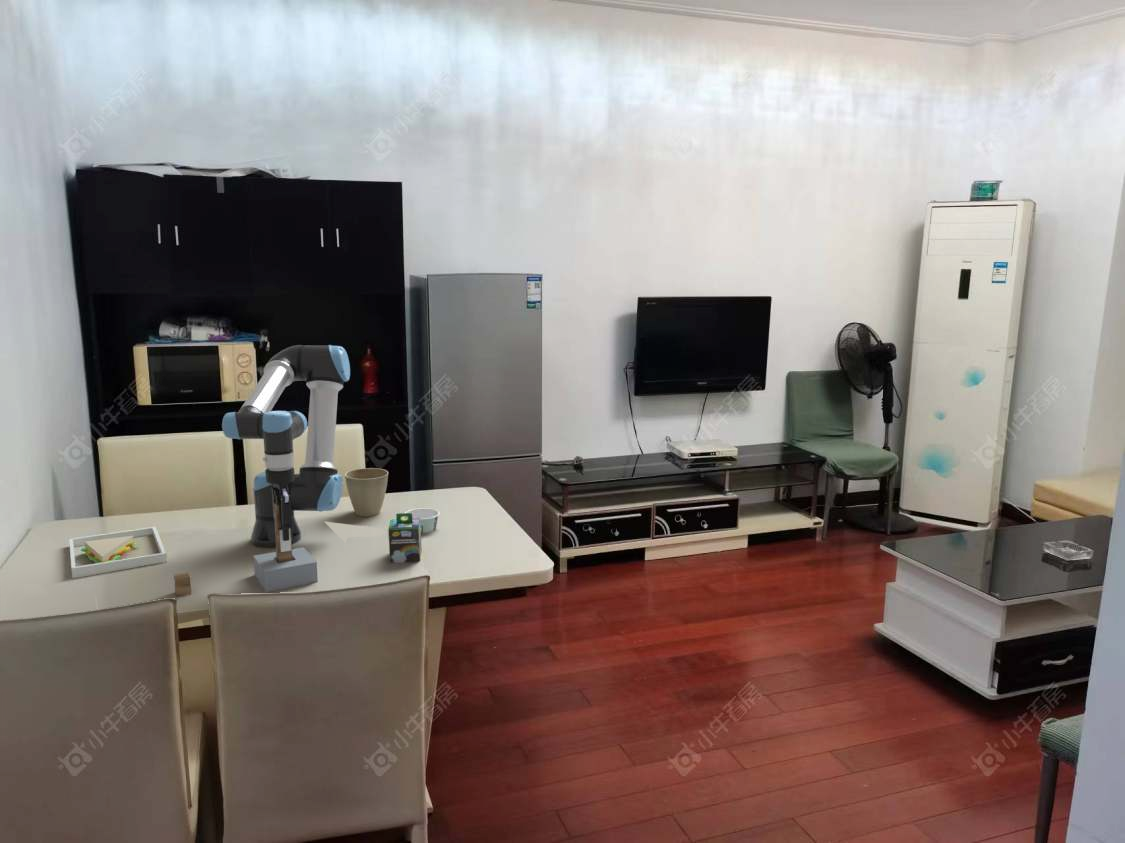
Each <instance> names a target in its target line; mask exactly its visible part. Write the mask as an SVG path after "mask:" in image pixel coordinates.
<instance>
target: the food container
mask: <svg viewBox="0 0 1125 843" xmlns="http://www.w3.org/2000/svg"><path fill="white" fill-rule="evenodd" d="M404 513H412V518H420V526H421V534H428V533H432V532H434V531H436V530H437V526H438V519H439V516H440V514H441V513H440V511H439V510H437V509H435V508H428V507H427V508H425V507H424V508H420V507H419V508H413V509H410V510H407V511H405V512H404ZM403 518H404V519H406V518H408V517H406V516H403Z"/></svg>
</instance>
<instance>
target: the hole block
mask: <svg viewBox="0 0 1125 843" xmlns="http://www.w3.org/2000/svg"><path fill="white" fill-rule="evenodd" d="M253 567H254V569H253V571H254V576H255V577H256V579H257V581H258V583H259V584H260V586H261V588H262V589H263V590H264V592H265V593H270V592H274V591H279V590H284V588H285V589H288V588H289V589H290V588H294V587H299V586H304V585H308V584H309V585H310V584H314V583H317V582H319V580H318V577H319V576H318V562H317V560H315V558H314V557H313V556H312V555H311V554H310V553H309V552H308V551H307V550H306V548H305V547H303V546H302V547H296V548H292V561H287V562H282V563H277V557H276V551H273V552H267V553H261V554H255V555H253Z"/></svg>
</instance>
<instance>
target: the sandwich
mask: <svg viewBox="0 0 1125 843" xmlns="http://www.w3.org/2000/svg"><path fill="white" fill-rule="evenodd" d="M84 544H85V545H84V546H83V547H82V548H81V549H80V551H81V552H84V553H85V554H86V555H87V557H88V560H91V561H93V563H94V564H96V563H102V562H108V561H115V560H121V559H123V557H125V556H126V555H128V554H129V553H130V552H132V551H133V550H134V549H135V547H136V546H139V545H140V546H141V543H135V542H134V537H133V536H127V537H118V538H110V539H102V540H93V541H85V542H84ZM131 550H132V551H131ZM127 553H128V554H127Z"/></svg>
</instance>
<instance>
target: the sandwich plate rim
mask: <svg viewBox="0 0 1125 843" xmlns="http://www.w3.org/2000/svg"><path fill="white" fill-rule="evenodd" d="M150 534H151V535H152V536H153V538H155V539H154V540H155V544H156V546H157V549H158V552H159V553H153V554H147V555H141V556H134V557H129V558H127V557H126V558H121V559H119V560H115V561H108V562H102V563H91V564H85V565H84V564H83V565H78V566H76V555H75V547H80V546H81V547H82V546H85V544H84V542H85V541H93V540H102V539H110V538H118V537H127V536H133V538H138V536H139V537H143V536H144V535H145V536H150ZM145 536H144V537H145ZM68 540H69V541H68V542H69V552H70V567H71V576H72V579H79V578H83V577H88V576H94V575H99V574H100V575H101V574H105V573H111V572H117V571H122V570H129V569H133V568H138V567H139V566H140V567H145V566H144V565H146V566H151V565H155V564H156V565H157V564H162V563H168V558H167V552H166V549H165V547H164V545H163V542H162V540H161V536H160V534H159V532H158V529H157V528H156V526H150V527H142V528H136V529H130V530H123V531H115V532H109V533H102V534H101V533H100V534H94V535H88V536H87V535H86V536H80V537H79V536H78V537H73V538H69V539H68ZM150 564H151V565H150Z"/></svg>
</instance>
